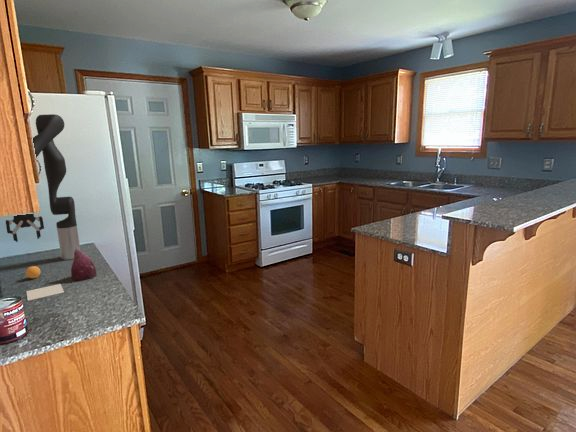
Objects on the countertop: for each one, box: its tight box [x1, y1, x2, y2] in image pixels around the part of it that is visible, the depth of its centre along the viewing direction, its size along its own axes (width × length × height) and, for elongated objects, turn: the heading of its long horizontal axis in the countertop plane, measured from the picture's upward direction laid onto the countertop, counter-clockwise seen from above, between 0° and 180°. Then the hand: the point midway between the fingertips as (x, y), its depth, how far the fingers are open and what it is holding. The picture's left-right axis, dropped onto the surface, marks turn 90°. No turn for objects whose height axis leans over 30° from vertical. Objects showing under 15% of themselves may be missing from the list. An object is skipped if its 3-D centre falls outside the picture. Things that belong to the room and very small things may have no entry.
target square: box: [26, 283, 65, 302], centre depth 142 cm, size 12×12×1 cm
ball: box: [25, 265, 41, 279], centre depth 159 cm, size 6×6×6 cm
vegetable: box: [70, 248, 97, 282], centre depth 158 cm, size 10×10×15 cm
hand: (27, 239), depth 163 cm, fingers open, 7 cm apart
